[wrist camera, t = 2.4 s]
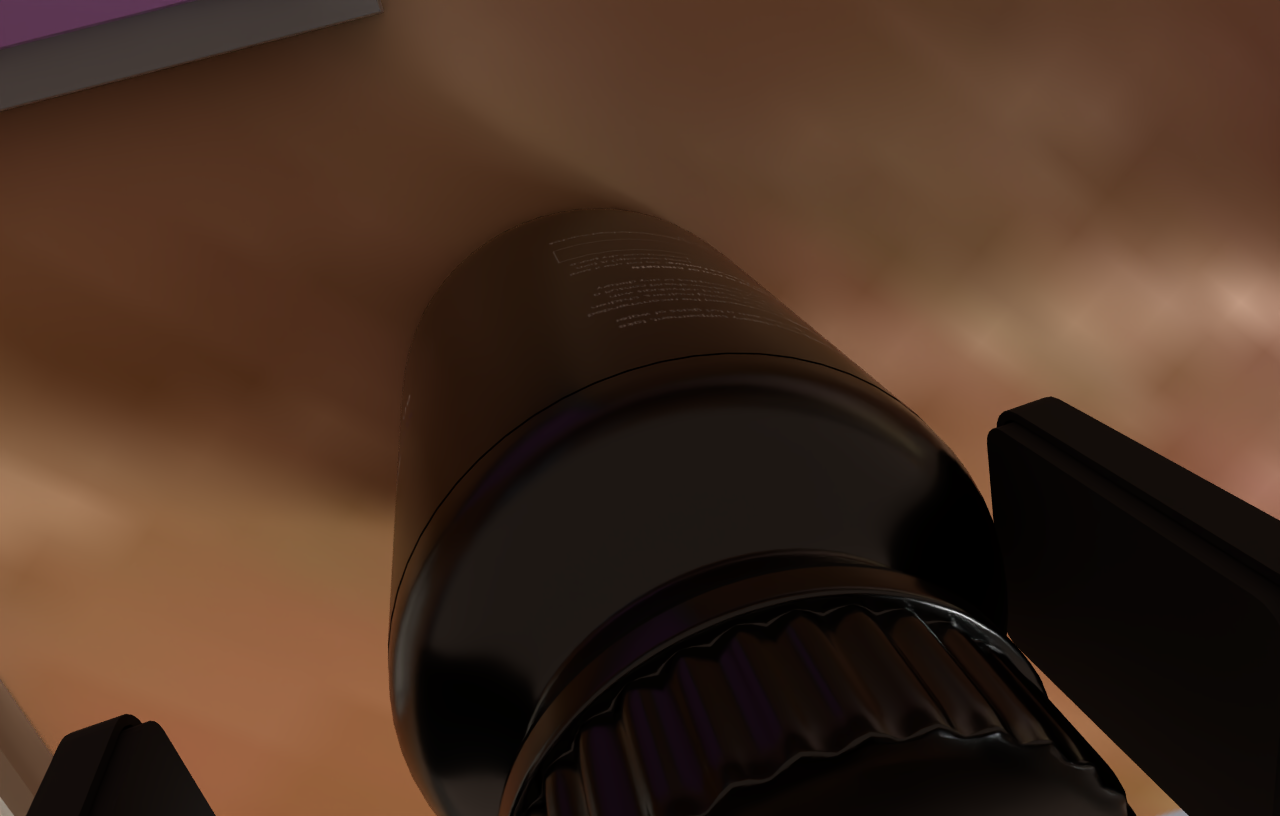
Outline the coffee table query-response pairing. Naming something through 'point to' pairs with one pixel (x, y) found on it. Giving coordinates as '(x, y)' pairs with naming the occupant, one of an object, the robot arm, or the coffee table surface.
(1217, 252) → the coffee table surface
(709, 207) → the coffee table surface
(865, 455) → the supplement bottle
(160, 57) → the ink pad
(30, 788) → the white square tile
